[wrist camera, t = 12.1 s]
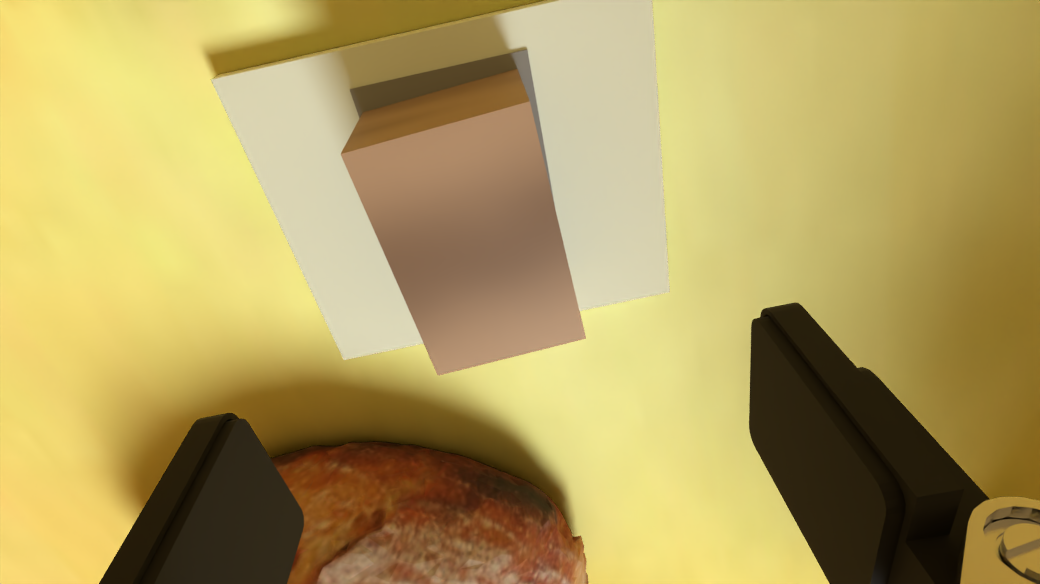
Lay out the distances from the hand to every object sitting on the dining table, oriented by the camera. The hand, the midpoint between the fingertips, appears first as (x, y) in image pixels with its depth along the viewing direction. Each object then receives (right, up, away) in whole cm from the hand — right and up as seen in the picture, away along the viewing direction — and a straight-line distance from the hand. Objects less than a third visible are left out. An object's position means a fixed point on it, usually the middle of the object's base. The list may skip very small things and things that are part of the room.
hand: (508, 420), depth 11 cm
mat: (-1, +6, +8) cm, 10 cm away
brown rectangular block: (-1, +5, +7) cm, 9 cm away
